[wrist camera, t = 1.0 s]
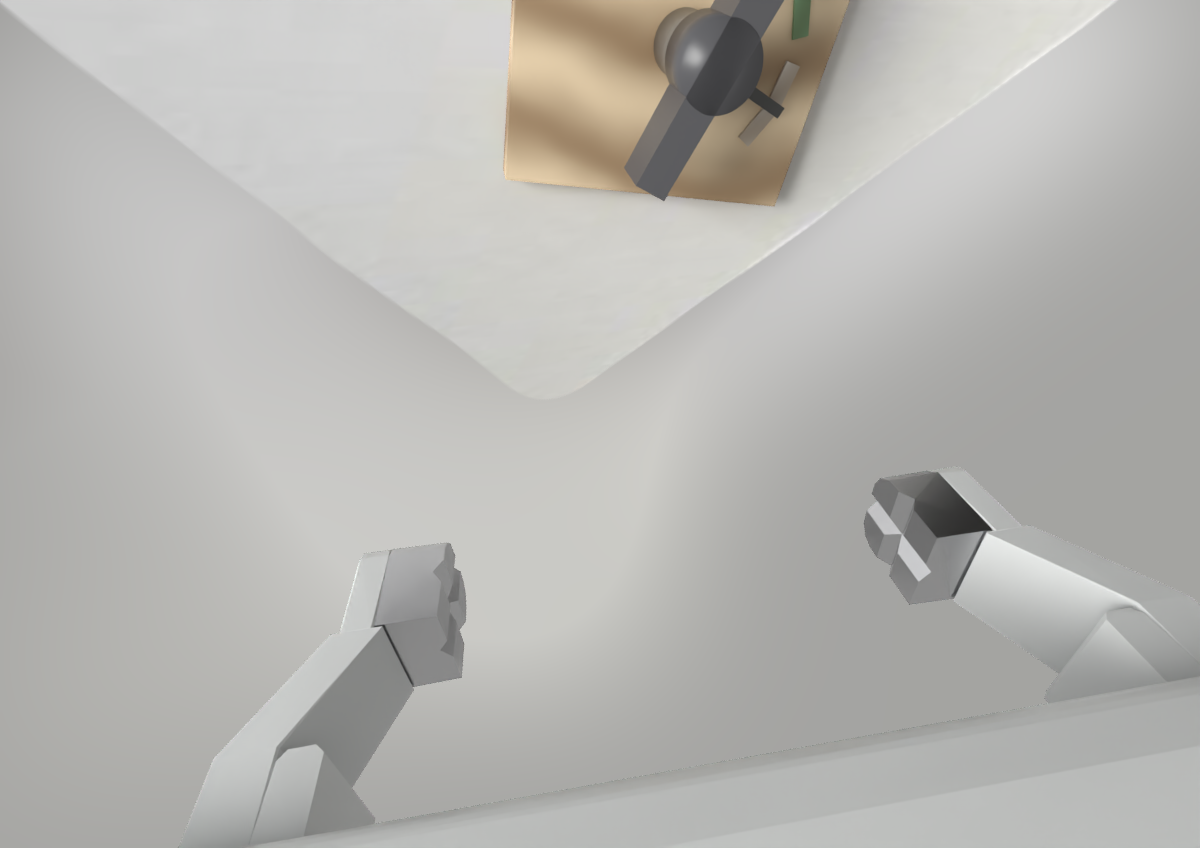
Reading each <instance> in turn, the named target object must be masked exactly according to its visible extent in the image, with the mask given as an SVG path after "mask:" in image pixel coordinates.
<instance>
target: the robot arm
mask: <svg viewBox="0 0 1200 848" xmlns="http://www.w3.org/2000/svg"><path fill="white" fill-rule="evenodd" d="M872 495H873V496H874V497H875V499H876V500H877V501H876V502H875V503H874V504H873V505H872V506H871V507H870V508H869V509H868V510H867V512H866V516H865V520H864V528H865V535H866V538H867V541H868V543H869V546H870V547H871V549H872V551H873V552H874V554H875V555H876V557H877V558H879V559H881V560H882V561H884V562H886V563H888V564H889V565H891V568H890V577H891V579H892V580H893V582H894V583H895V585H896V586H897V587H898V589H899V590H900V592H901V593H902V595H903V596H904V598H905V599H906V600H907V602H908V603H909V605H910V604H917V603H925V602H932V601H939V600H946V599H954V600H953V601H954V602H955V603H957V604H958V605H960V606H961V607H963V608H964V609H966V610H967V611H968V612H970V613H971V614H973V615H974V616H976V617H977V618H979V619H980V620H982V621H983V622H985V623H986V624H987V625H989V626H990V627H992V628H993V629H995V630H996V631H998V632H999V633H1000V634H1002V635H1003V636H1005V637H1006V638H1008V639H1009V640H1011V641H1012V642H1014V643H1015V644H1017V645H1018V646H1019V647H1021V648H1022V649H1024V650H1025V651H1027V652H1028V653H1030V654H1031V655H1033V656H1034V657H1036V658H1037V659H1038V660H1040V661H1041V662H1043V663H1044V664H1046V665H1047V666H1049V667H1050V668H1051V669H1053V670H1054V671H1056V672H1058V673H1059V675H1058V676H1057V677H1056V679H1055V680H1054V681H1053V683H1052V684H1051V685H1050V687H1049V688H1048V689H1047V690H1046V694H1045V700H1046V701H1047V702H1048V704H1043V705H1037V706H1031V707H1026V708H1020V709H1014V710H1009V711H1003V712H997V713H992V714H986V715H981V716H975V717H969V718H964V719H958V720H953V721H947V722H941V723H936V724H930V725H925V726H919V727H913V728H908V729H902V730H897V731H891V732H885V733H880V734H874V735H868V736H863V737H857V738H851V739H846V740H840V741H835V742H829V743H824V744H818V745H812V746H806V747H801V748H795V749H790V750H784V751H779V752H773V753H767V754H762V755H756V756H750V757H745V758H739V759H734V760H729V761H723V762H717V763H712V764H706V765H700V766H695V767H689V768H683V769H678V770H672V771H667V772H661V773H656V774H650V775H645V776H639V777H633V778H627V779H622V780H616V781H611V782H605V783H600V784H594V785H588V786H583V787H578V788H572V789H566V790H561V791H555V792H549V793H544V794H538V795H533V796H528V797H522V798H516V799H510V800H505V801H499V802H493V803H488V804H483V805H477V806H471V807H466V808H460V809H454V810H449V811H443V812H438V813H432V814H427V815H421V816H415V817H410V818H405V819H399V820H393V821H387V822H382V823H376V824H374V822H375V817H374V816H373V815H372V813H371V812H370V811H369V810H368V808H367V807H366V806H365V804H364V803H363V802H362V800H361V799H360V798H359V797H358V795H357V794H356V793H355V791H354V790H353V789H352V787H353V785H354V784H355V782H356V781H357V779H358V778H359V776H360V774H361V773H362V771H363V770H364V768H365V767H366V765H367V763H368V762H369V760H370V759H371V757H372V755H373V754H374V752H375V751H376V749H377V747H378V746H379V744H380V742H381V741H382V740H383V738H384V736H385V735H386V733H387V732H388V730H389V728H390V727H391V725H392V724H393V722H394V720H395V719H396V717H397V716H398V714H399V713H400V711H401V710H402V708H403V706H404V705H405V703H406V702H407V700H408V698H409V697H410V695H411V694H412V692H413V691H414V689H413V687H415V686H420V685H426V684H431V683H436V682H442V681H446V680H452V679H457V678H461V677H462V666H463V652H464V642H463V639H462V636H461V633H460V631H459V630H460V628H461V627H462V626H463V625H464V623H465V621H466V595H465V588H464V582H463V579H462V575H461V572H460V571H458V570H457V569H455V568H454V562H455V554H454V552H453V549H452V547H451V544H450V543H440V544H432V545H424V546H416V547H409V548H399V549H393V550H388V551H379V552H371V553H365V554H364V555H363V557H362V558H361V559H360V561H359V564H358V568H357V571H356V575H355V579H354V583H353V586H352V590H351V594H350V597H349V601H348V605H347V608H346V612H345V616H344V619H343V623H342V627H341V630H340V633H334V634H331V635H330V636H329V637H328V638H327V639H326V640H325V641H324V642H323V643H322V644H321V645H320V647H319V648H318V649H317V650H316V651H315V652H314V653H313V654H312V655H311V656H310V657H309V658H308V659H307V660H306V661H305V662H304V663H303V665H302V666H301V667H300V668H299V669H298V670H297V671H296V672H295V673H294V674H293V675H292V676H291V677H290V678H289V679H288V680H287V681H286V683H285V684H284V685H283V686H282V687H281V688H280V689H279V690H278V691H277V692H276V693H275V694H274V695H273V696H272V697H271V698H270V699H269V701H268V702H267V703H266V704H265V705H264V706H263V707H262V708H261V709H260V710H259V711H258V712H257V713H256V714H255V715H254V717H253V718H252V719H251V720H250V721H249V722H248V723H247V724H246V725H245V726H244V727H243V728H242V729H241V730H240V731H239V732H238V733H237V734H236V736H235V737H234V738H233V739H232V740H231V741H230V742H229V743H228V744H227V745H226V746H225V747H224V748H223V749H222V750H221V751H220V752H219V754H218V755H217V756H216V757H215V758H214V759H213V761H212V764H211V766H210V769H209V771H208V774H207V777H206V779H205V781H204V784H203V787H202V789H201V792H200V794H199V797H198V799H197V802H196V804H195V807H194V809H193V812H192V814H191V817H190V819H189V822H188V825H187V827H186V829H185V832H184V834H183V837H182V840H181V842H180V845H179V847H178V848H1200V604H1199V603H1198V602H1197V601H1196V600H1194V599H1193V598H1192V597H1191V596H1189V595H1187V594H1185V593H1182V592H1180V591H1178V590H1176V589H1174V588H1171V587H1169V586H1167V585H1164V584H1162V583H1160V582H1157V581H1155V580H1153V579H1151V578H1148V577H1146V576H1144V575H1142V574H1139V573H1137V572H1135V571H1133V570H1130V569H1128V568H1126V567H1124V566H1121V565H1119V564H1117V563H1114V562H1112V561H1110V560H1108V559H1106V558H1103V557H1101V556H1099V555H1096V554H1094V553H1092V552H1090V551H1087V550H1085V549H1083V548H1080V547H1078V546H1076V545H1074V544H1072V543H1069V542H1067V541H1065V540H1062V539H1060V538H1058V537H1056V536H1053V535H1051V534H1049V533H1046V532H1044V531H1042V530H1040V529H1038V528H1035V527H1033V526H1031V525H1028V526H1021V525H1020V524H1019V523H1018V522H1017V521H1016V520H1015V519H1014V518H1013V517H1012V516H1011V515H1010V514H1009V513H1008V512H1007V511H1006V510H1005V509H1004V508H1003V507H1002V506H1001V505H1000V504H999V503H998V502H997V501H996V500H995V499H994V498H993V497H992V496H991V495H990V494H989V493H988V492H987V491H986V490H985V489H984V488H983V487H982V486H981V485H980V484H979V483H977V481H976V480H975V479H974V478H973V477H972V476H971V475H969V474H968V473H967V472H966V471H965V470H964V469H962V468H959V467H957V466H956V467H950V468H943V469H938V470H931V471H923V472H917V473H911V474H905V475H899V476H892V477H886V478H880V479H879V480H878V481H877V482H876V483H875V485H874V488H873V492H872Z"/></svg>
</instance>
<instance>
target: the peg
mask: <svg viewBox="0 0 1200 848" xmlns="http://www.w3.org/2000/svg"><path fill="white" fill-rule="evenodd" d="M783 1H784V0H714V2H713V4H712V6H711V8H703V9H700V10H696V9H694V8H690V7H682V8H678V9H676V10H674V11H672V12H671V13H669V14H668V15H667V16H666V17H665V18H664V19H663V21H662V22H661V23H660V25H659V27H658V29H657V31H656V34H655V38H654V57H655V60H656V63H657V65H658V67H659V68H660V70H661V71H662V72H663V73H664V74H666V76H667V79H668V82H669V85H668V87H667V89H666V91H665V93H664V95H663V96H662V98H661V100H660V102H659V104H658V106H657V108H656V109H655V111H654V113H653V115H652V117H651V119H650V121H649V122H648V124H647V126H646V128H645V130H644V132H643V133H642V135H641V137H640V139H639V141H638V143H637V145H636V146H635V148H634V150H633V152H632V154H631V156H630V158H629V159H628V161H627V163H626V165H625V167H624V169H625V170H626V172H627V173H628V175H629V176H630V178H631V179H632V181H633V182H634V184H635V185H636V186H637V187H639V188H641V189H643V190H645V191H646V192H648V193H650V194H652V195H654V196H656V197H658V198H660V199H661V200H663V201H664V200H665V198H666V197H667V195H668V193H669V192H670V190H671V188H672V187H673V185H674V183H675V182H676V180H677V178H678V177H679V175H680V173H681V172H682V170H683V168H684V167H685V165H686V163H687V162H688V160H689V158H690V157H691V155H692V153H693V152H694V150H695V148H696V147H697V145H698V143H699V142H700V140H701V138H702V137H703V135H704V133H705V132H706V130H707V128H708V127H709V125H710V123H711V122H712V120H713V118H714V117H715V116H721V115H725V114H728V113H730V112H732V111H734V110H736V109H737V108H739V107H740V106H741V105H742V104H743V103H744V102H745V101H746V100H747V99H750V100H751V101H753V102H754V103H756V104H757V105H758V106H760V107H761V108H763V109H764V110H766V111H767V112H769V113H770V114H771V115H773V116H774V117H776V118H777V119H778V117H779V116H780V114H781V113H782V111H783V110H784V107H782V106H781V105H780V104H778V103H777V102H775V101H774V100H773V99H771V98H770V97H768V96H767V95H766V94H764V93H763V92H761V91H760V90H759V89H757V88H756V86H757V84H758V81H759V79H760V76H761V73H762V68H763V46H762V42H761V38H762V37H763V35H764V33H765V31H766V30H767V28H768V26H769V25H770V23H771V21H772V20H773V18H774V16H775V15H776V13H777V11H778V10H779V8H780V6H781V5H782V3H783Z"/></svg>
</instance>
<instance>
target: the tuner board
mask: <svg viewBox="0 0 1200 848" xmlns="http://www.w3.org/2000/svg"><path fill="white" fill-rule="evenodd" d="M713 2H714V0H512V12H511V32H510V51H509V70H508V90H507V109H506V128H505V148H504V167H503V170H504V174H505V179H506V180H514V181H524V182H534V183H544V184H554V185H564V186H574V187H585V188H595V189H605V190H615V191H625V192H635V193H645V194H650V193H648V192H646V191H645V190H643V189H641V188H639V187H637V186H636V185H635V184H634V182H633V181H632V179H631V178H630V176H629V175H628V173H627V172H626V170H625V169H624V167H625V165H626V163H627V161H628V159H629V158H630V156H631V154H632V152H633V150H634V148H635V146H636V145H637V143H638V141H639V139H640V137H641V135H642V133H643V132H644V130H645V128H646V126H647V124H648V122H649V121H650V119H651V117H652V115H653V113H654V111H655V109H656V108H657V106H658V104H659V102H660V100H661V98H662V96H663V95H664V93H665V91H666V89H667V87H668V85H669V82H668V79H667V76H666V74H664V73H663V72H662V71H661V70H660V68H659V67H658V65H657V63H656V60H655V57H654V38H655V34H656V31H657V29H658V27H659V25H660V23H661V22H662V21H663V19H664V18H665V17H666V16H667V15H668V14H669V13H671V12H672V11H674V10H676V9H678V8H682V7H690V8H694V9H696V10H700V9H703V8H711V6H712V4H713ZM849 2H850V0H784V1H783V3H782V5H781V6H780V8H779V10H778V11H777V13H776V15H775V16H774V18H773V20H772V21H771V23H770V25H769V26H768V28H767V30H766V31H765V33H764V35H763V37H762V38H761V42H762V46H763V68H762V73H761V76H760V79H759V81H758V84H757V86H756V88H757V89H759V90H760V91H761V92H763V93H764V94H766V95H767V96H768V97H770V98H771V99H773V100H774V101H775V102H777V103H778V104H780V105H781V106H782V107H784V110H783V111H782V113H781V114H780V116H779V117H778V119H777V118H776V117H774V116H773V115H771V114H770V113H769V112H767V111H766V110H764V109H763V108H761V107H760V106H758V105H757V104H756V103H754V102H753V101H751V100H750V99H747V100H746V101H745V102H744V103H743V104H742V105H741V106H740V107H739V108H737V109H736V110H734V111H732V112H730V113H728V114H725V115H721V116H715V117H714V118H713V120H712V122H711V123H710V125H709V127H708V128H707V130H706V132H705V133H704V135H703V137H702V138H701V140H700V142H699V143H698V145H697V147H696V148H695V150H694V152H693V153H692V155H691V157H690V158H689V160H688V162H687V163H686V165H685V167H684V168H683V170H682V172H681V173H680V175H679V177H678V178H677V180H676V182H675V183H674V185H673V187H672V188H671V190H670V192H669V193H668V195H667V196H675V197H685V198H695V199H705V200H715V201H725V202H735V203H746V204H756V205H766V206H775V203H776V200H777V198H778V195H779V192H780V190H781V187H782V184H783V181H784V179H785V176H786V173H787V171H788V168H789V165H790V162H791V160H792V157H793V154H794V151H795V149H796V146H797V143H798V141H799V138H800V135H801V132H802V130H803V127H804V124H805V121H806V119H807V116H808V113H809V111H810V108H811V105H812V102H813V100H814V97H815V94H816V91H817V89H818V86H819V83H820V81H821V78H822V75H823V72H824V70H825V67H826V64H827V61H828V59H829V56H830V53H831V51H832V48H833V45H834V42H835V40H836V37H837V34H838V31H839V29H840V26H841V23H842V21H843V18H844V15H845V12H846V10H847V7H848V4H849Z"/></svg>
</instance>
